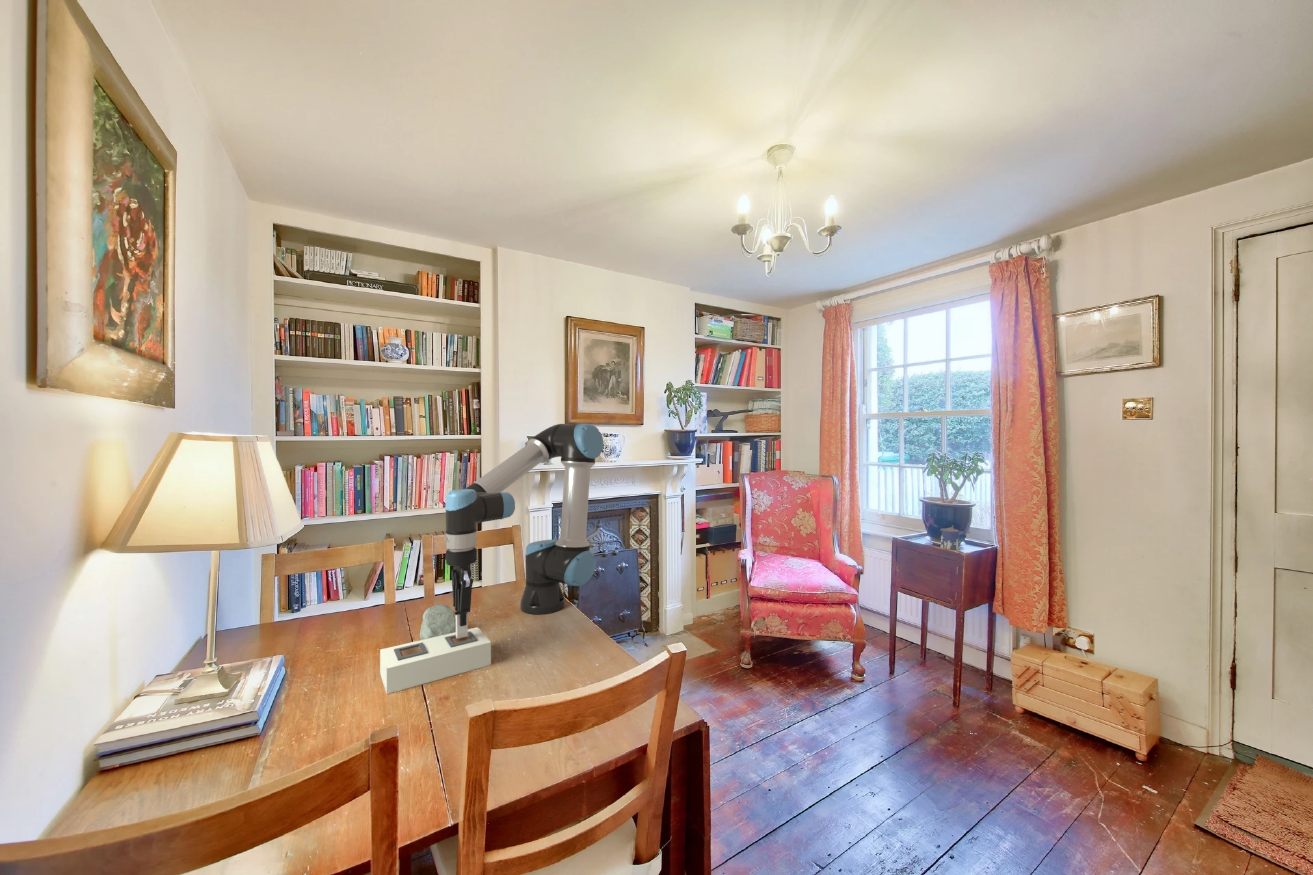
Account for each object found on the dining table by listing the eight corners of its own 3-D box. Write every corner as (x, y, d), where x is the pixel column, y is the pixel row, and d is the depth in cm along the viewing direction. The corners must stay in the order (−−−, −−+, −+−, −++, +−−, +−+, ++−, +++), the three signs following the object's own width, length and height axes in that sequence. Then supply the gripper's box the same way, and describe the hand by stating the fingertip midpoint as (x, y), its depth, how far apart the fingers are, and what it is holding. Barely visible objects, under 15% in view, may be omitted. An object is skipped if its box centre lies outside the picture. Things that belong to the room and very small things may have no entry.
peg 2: (466, 657, 128) (466, 635, 128) (470, 662, 125) (470, 640, 125) (451, 661, 126) (451, 638, 126) (454, 667, 123) (455, 644, 123)
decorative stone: (423, 631, 145) (410, 613, 139) (458, 614, 149) (447, 595, 143) (429, 667, 136) (416, 649, 130) (467, 647, 139) (456, 629, 133)
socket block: (477, 648, 134) (477, 625, 134) (490, 664, 124) (490, 640, 124) (380, 673, 120) (380, 647, 120) (386, 694, 110) (386, 666, 110)
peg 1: (418, 669, 121) (418, 646, 121) (421, 676, 118) (421, 652, 118) (400, 674, 119) (400, 650, 119) (403, 681, 116) (403, 656, 116)
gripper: (440, 545, 128) (441, 631, 129) (452, 555, 118) (452, 649, 118) (469, 541, 133) (469, 624, 133) (483, 550, 122) (483, 641, 123)
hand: (461, 636), depth 126 cm, fingers closed
